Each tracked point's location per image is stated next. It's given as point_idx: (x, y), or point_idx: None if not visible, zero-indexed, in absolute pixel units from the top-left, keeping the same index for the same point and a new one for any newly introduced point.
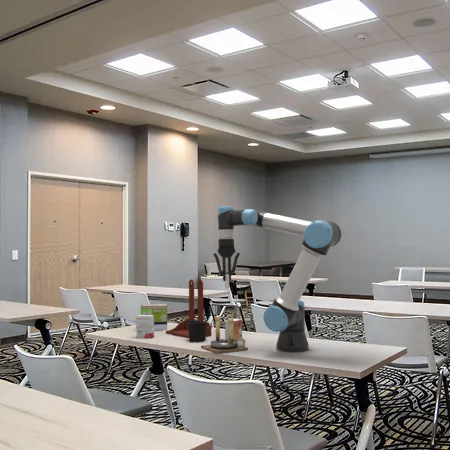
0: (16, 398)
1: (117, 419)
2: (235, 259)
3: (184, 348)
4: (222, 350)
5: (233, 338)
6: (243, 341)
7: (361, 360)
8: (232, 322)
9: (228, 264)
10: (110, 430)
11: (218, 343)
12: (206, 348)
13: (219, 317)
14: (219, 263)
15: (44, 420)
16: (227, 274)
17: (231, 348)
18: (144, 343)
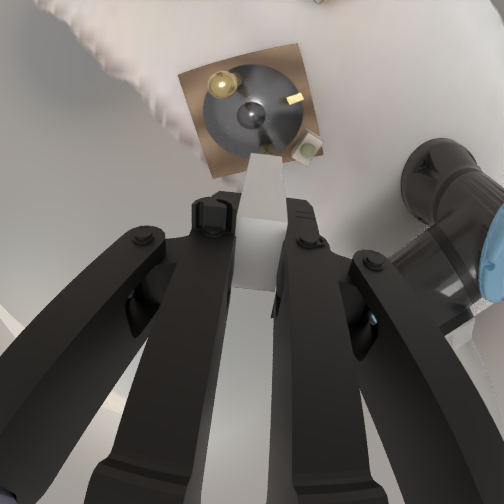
0: (13, 329)
1: (111, 394)
2: (412, 493)
3: (129, 75)
4: (234, 164)
5: (319, 1)
6: (312, 157)
7: None
8: None
9: (271, 418)
10: (114, 403)
11: (226, 134)
12: (191, 113)
13: (230, 95)
14: (92, 407)
15: None
16: (256, 288)
17: None
18: (39, 6)
